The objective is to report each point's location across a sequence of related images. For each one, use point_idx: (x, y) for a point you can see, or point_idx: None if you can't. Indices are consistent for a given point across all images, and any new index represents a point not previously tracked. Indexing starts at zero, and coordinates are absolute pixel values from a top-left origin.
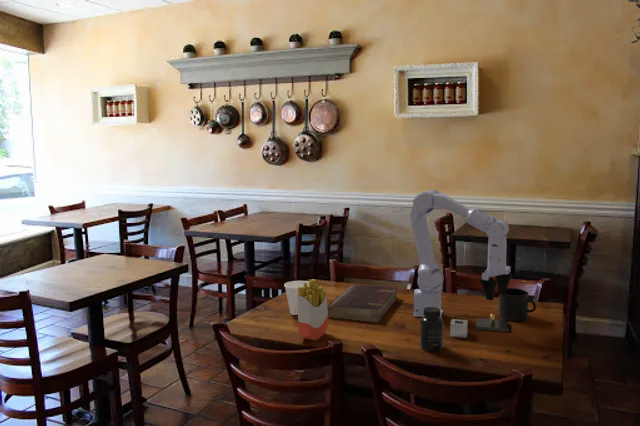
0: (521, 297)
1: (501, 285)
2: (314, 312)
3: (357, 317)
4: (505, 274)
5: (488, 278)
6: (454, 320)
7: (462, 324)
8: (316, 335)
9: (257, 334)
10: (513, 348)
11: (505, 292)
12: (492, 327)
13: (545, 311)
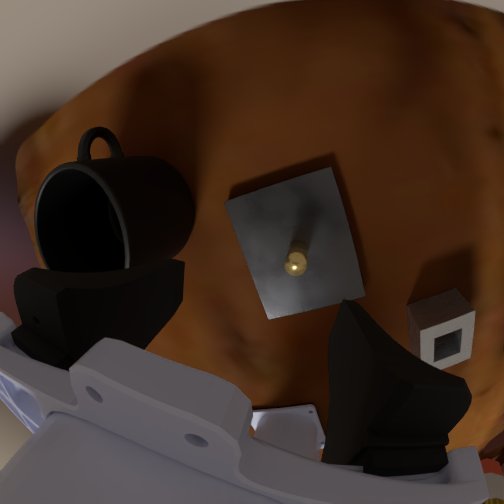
0: (106, 175)
1: (144, 317)
2: (494, 491)
3: None
4: (64, 348)
5: (465, 462)
6: (433, 364)
7: (466, 327)
8: (483, 464)
9: None
10: (472, 117)
11: (166, 262)
12: (349, 235)
13: (57, 147)
